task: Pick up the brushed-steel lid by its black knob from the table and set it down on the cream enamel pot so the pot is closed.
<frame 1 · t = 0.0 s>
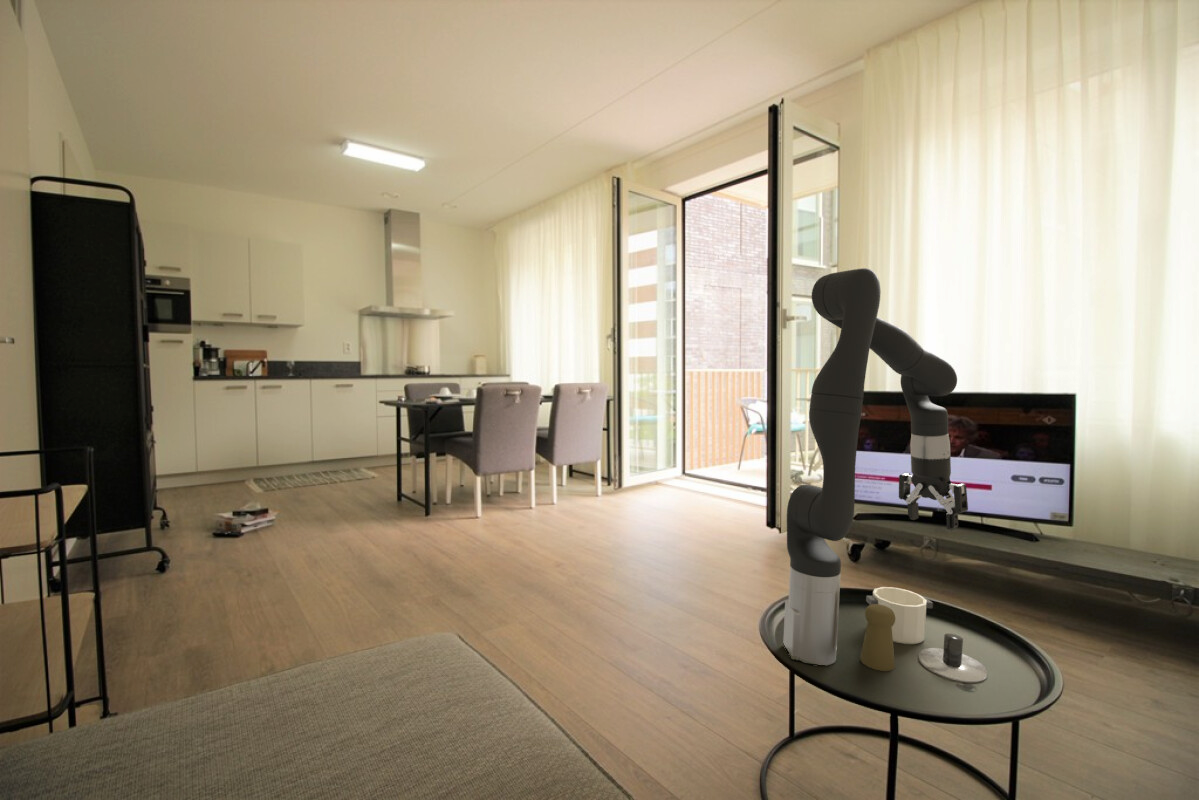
hand: (932, 523, 124), 22 cm above the table, tool pointing down, fingers open, 8 cm apart
pot: (897, 632, 119), on the table
cork: (877, 663, 107), on the table
lid: (951, 667, 106), on the table
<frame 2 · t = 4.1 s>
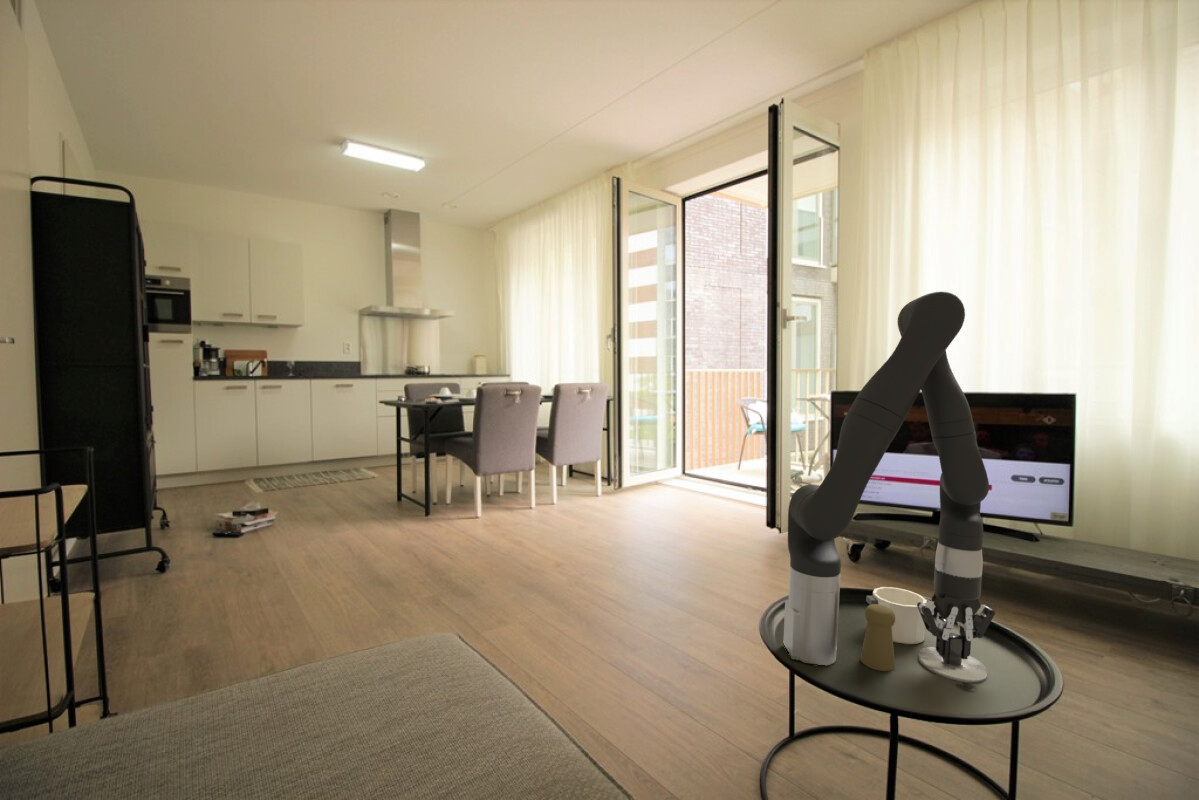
hand: (952, 656, 106), 2 cm above the table, tool pointing down, fingers closed on lid, 3 cm apart
lid: (951, 666, 106), on the table, touching gripper
everything else where it was.
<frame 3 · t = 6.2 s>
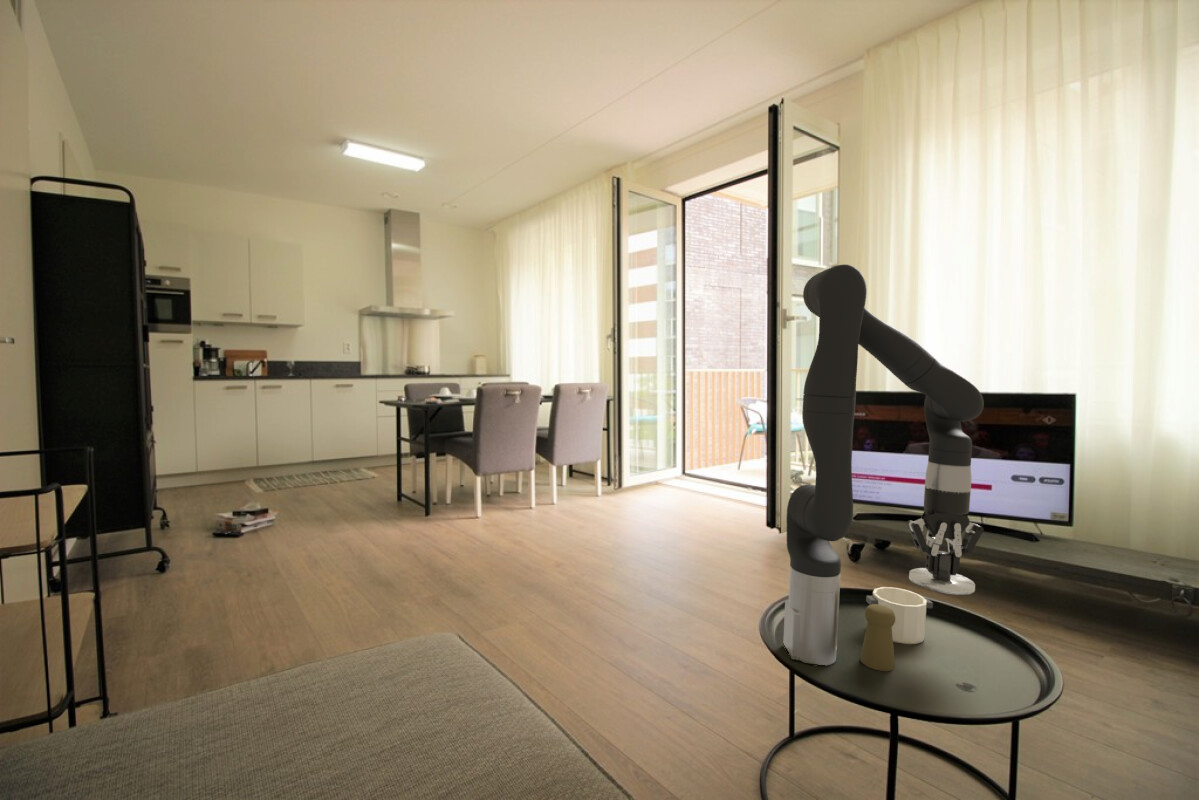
hand: (941, 573, 108), 17 cm above the table, tool pointing down, fingers closed on lid, 3 cm apart
lid: (941, 583, 109), point 15 cm above the table, touching gripper
everything else where it was.
when the fingers open (11 cm above the table, at t = 8.4 s): lid drops 1 cm, resting on pot.
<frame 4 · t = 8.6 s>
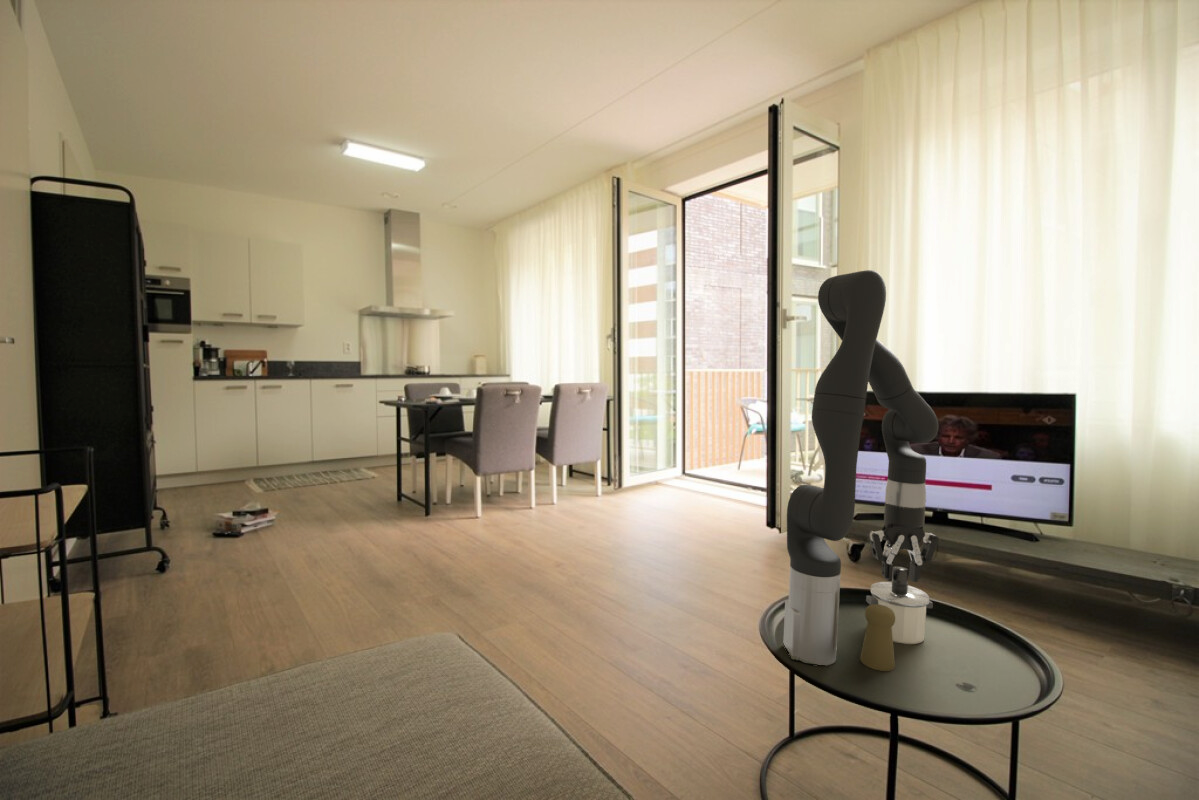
hand: (900, 579, 119), 12 cm above the table, tool pointing down, fingers open, 4 cm apart
lid: (899, 596, 119), point 8 cm above the table, touching pot
everything else where it was.
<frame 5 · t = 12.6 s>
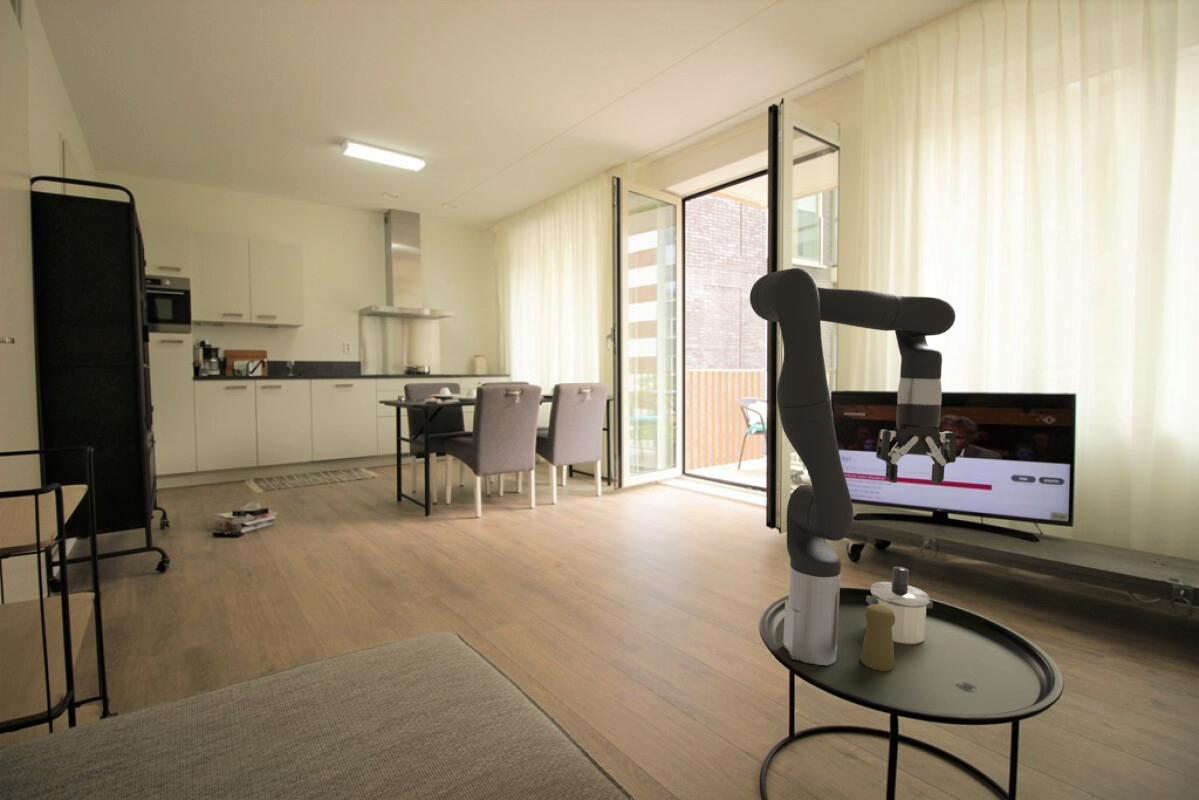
hand: (914, 482, 110), 34 cm above the table, tool pointing down, fingers open, 8 cm apart
nothing on the table moved.
at the end: lid 0.0 cm off-centre on the pot, point 8.0 cm above the pot's base; lid tilted 0°; the gripper is holding nothing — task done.
